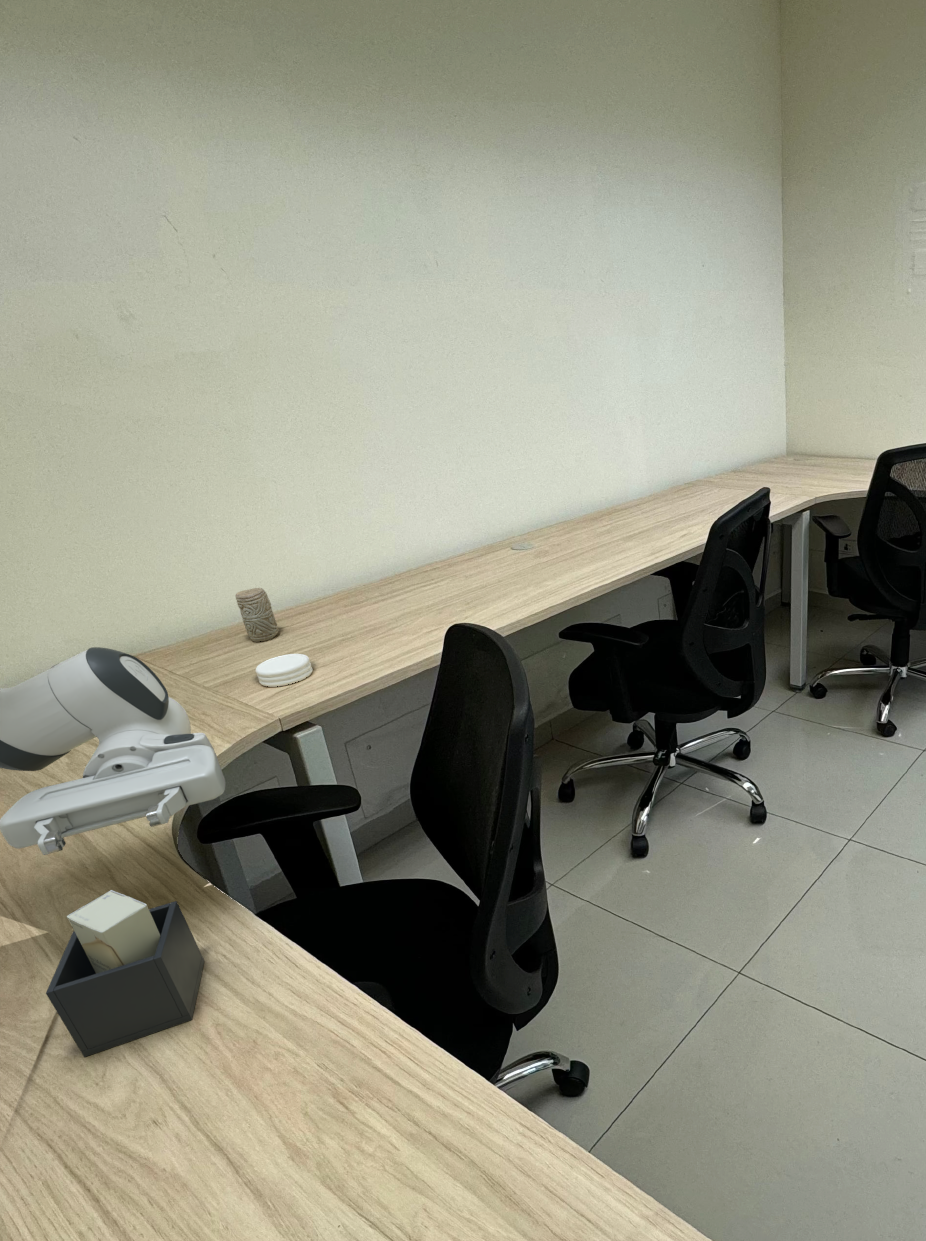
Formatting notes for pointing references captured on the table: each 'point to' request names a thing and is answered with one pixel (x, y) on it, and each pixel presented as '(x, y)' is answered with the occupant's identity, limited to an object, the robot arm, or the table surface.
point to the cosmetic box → (115, 931)
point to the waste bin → (129, 988)
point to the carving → (257, 614)
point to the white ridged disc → (284, 670)
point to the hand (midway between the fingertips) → (103, 833)
